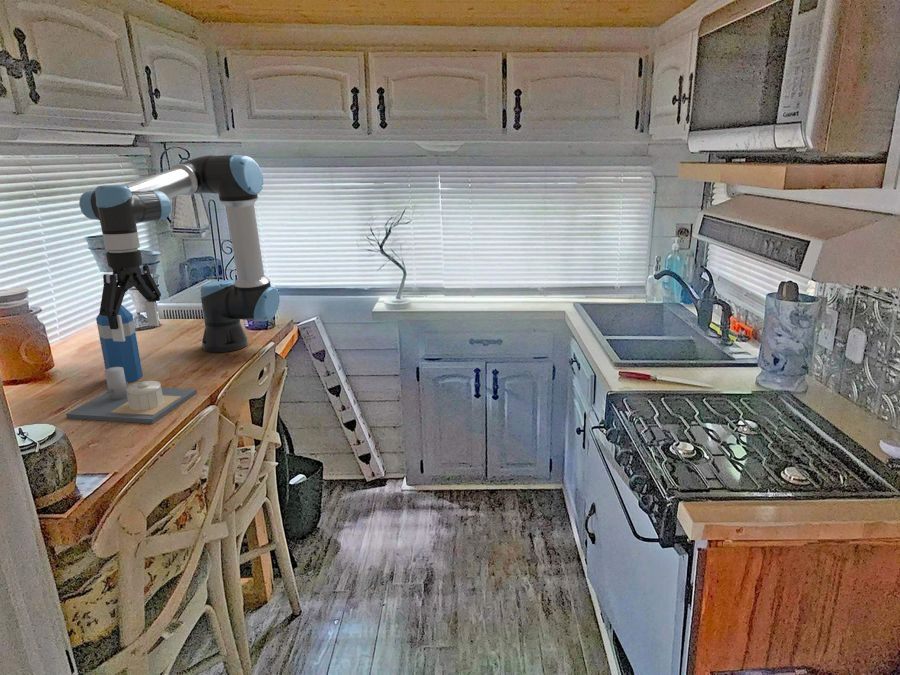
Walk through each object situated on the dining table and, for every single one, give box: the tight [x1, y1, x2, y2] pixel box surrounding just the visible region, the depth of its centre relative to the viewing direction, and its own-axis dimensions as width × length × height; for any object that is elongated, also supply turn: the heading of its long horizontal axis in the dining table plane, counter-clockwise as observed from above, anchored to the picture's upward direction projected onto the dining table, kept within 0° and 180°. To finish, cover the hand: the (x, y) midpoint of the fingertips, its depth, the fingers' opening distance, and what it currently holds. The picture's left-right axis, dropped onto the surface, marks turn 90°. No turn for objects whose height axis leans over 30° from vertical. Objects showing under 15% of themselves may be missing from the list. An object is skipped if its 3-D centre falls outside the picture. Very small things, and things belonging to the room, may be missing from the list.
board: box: [65, 367, 198, 425], centre depth 155 cm, size 20×24×9 cm
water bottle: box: [95, 304, 144, 384], centre depth 172 cm, size 9×9×25 cm
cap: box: [126, 380, 163, 410], centre depth 153 cm, size 8×8×6 cm
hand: (137, 333), depth 149 cm, fingers open, 13 cm apart
